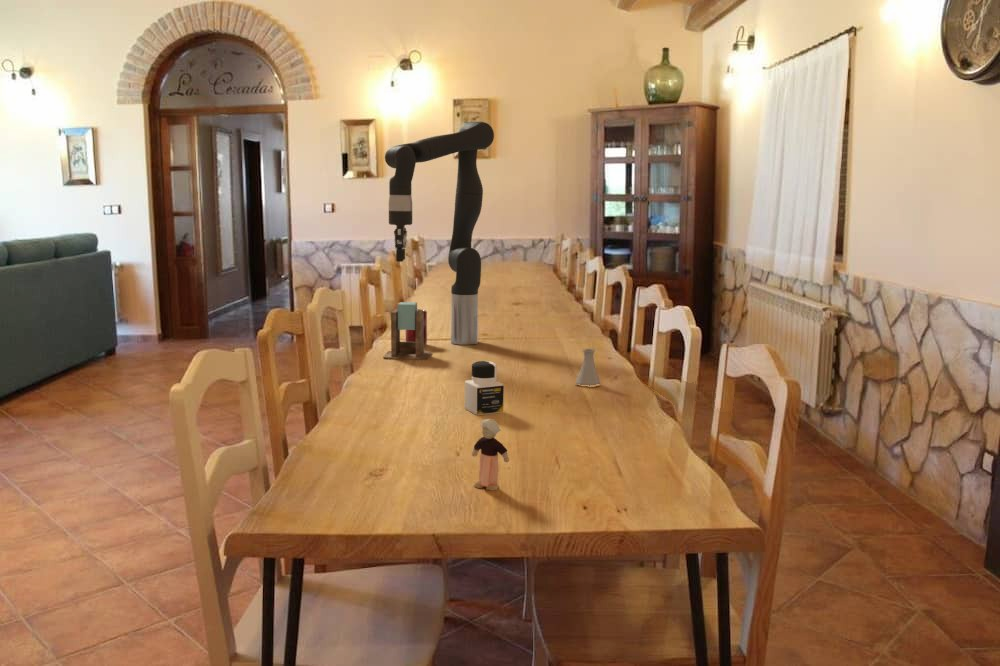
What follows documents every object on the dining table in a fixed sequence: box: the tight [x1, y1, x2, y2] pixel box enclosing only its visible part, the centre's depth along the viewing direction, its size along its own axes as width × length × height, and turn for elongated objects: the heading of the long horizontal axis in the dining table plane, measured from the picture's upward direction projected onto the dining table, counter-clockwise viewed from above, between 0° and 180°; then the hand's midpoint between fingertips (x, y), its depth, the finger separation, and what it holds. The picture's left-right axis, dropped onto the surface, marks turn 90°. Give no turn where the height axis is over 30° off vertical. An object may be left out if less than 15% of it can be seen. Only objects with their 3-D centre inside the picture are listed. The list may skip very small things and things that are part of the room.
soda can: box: [405, 308, 428, 347], centre depth 287 cm, size 7×7×12 cm
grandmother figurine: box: [471, 418, 510, 492], centre depth 150 cm, size 8×4×13 cm, turn 69°
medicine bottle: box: [464, 360, 505, 417], centre depth 202 cm, size 7×7×12 cm
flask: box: [575, 348, 601, 386], centre depth 231 cm, size 7×7×10 cm
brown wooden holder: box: [382, 308, 432, 361], centre depth 267 cm, size 14×10×15 cm
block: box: [397, 301, 418, 331], centre depth 266 cm, size 5×5×8 cm
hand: (400, 260), depth 271 cm, fingers open, 8 cm apart
